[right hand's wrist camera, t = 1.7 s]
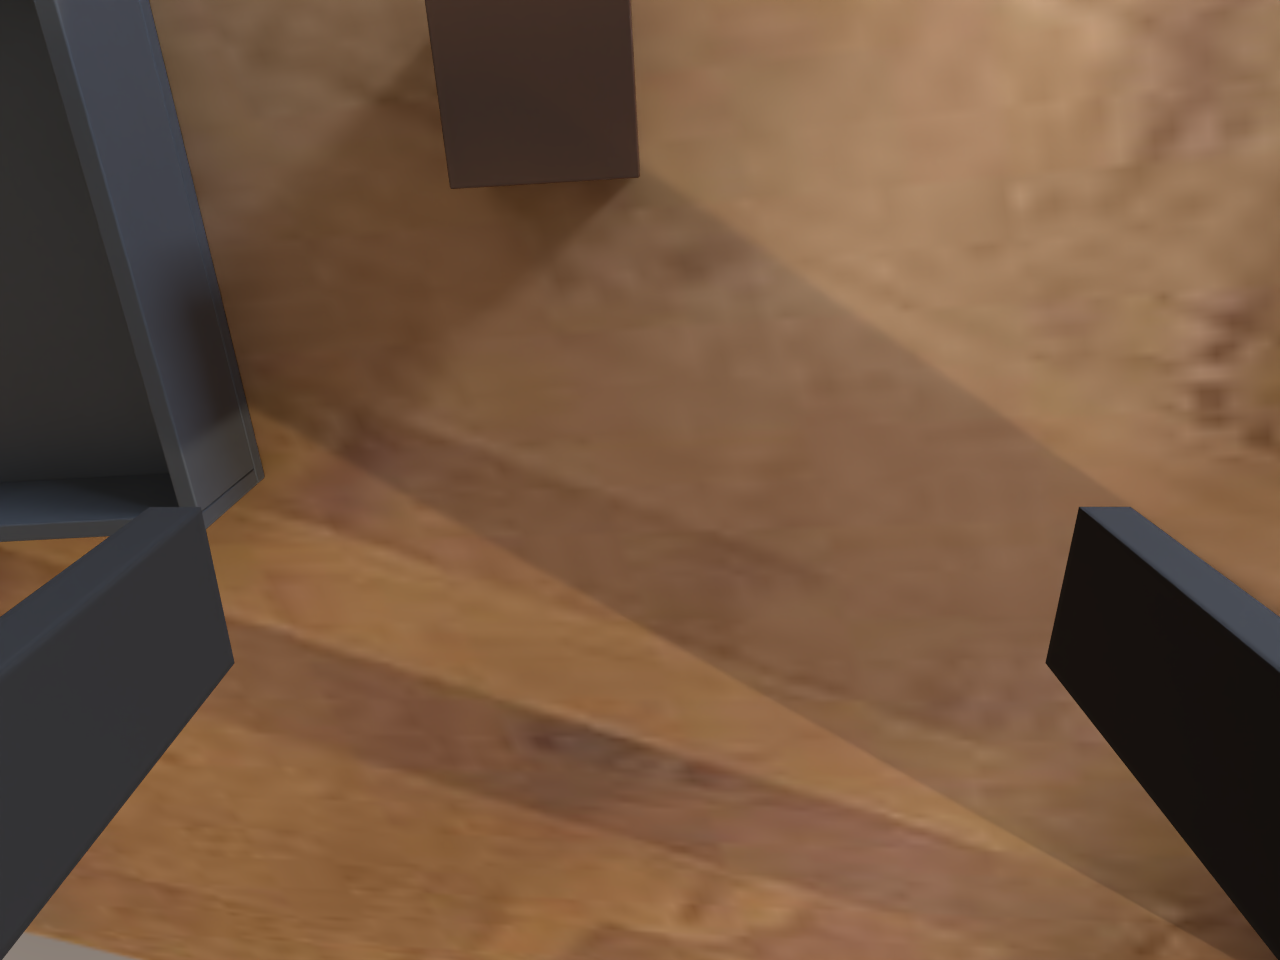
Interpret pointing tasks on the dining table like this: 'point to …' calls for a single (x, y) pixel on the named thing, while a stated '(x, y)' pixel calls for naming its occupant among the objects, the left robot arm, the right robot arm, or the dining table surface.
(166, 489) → the grey tray
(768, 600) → the dining table surface
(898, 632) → the dining table surface
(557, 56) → the walnut cube
